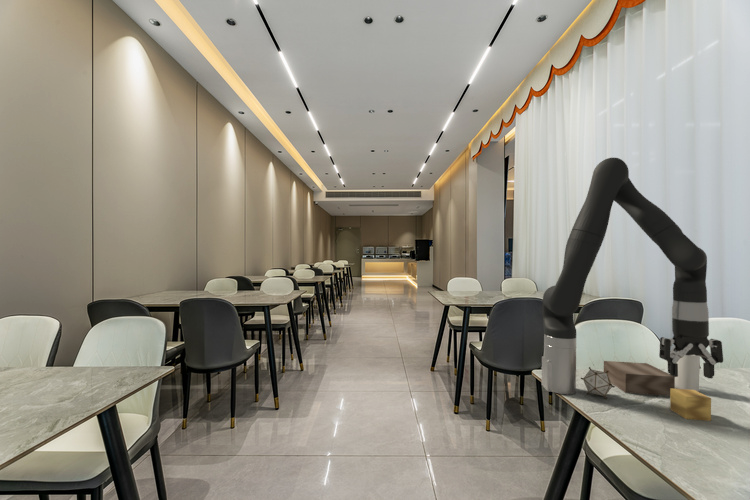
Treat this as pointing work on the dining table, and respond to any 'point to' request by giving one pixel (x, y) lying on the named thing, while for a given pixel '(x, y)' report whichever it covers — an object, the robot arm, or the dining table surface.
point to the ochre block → (690, 404)
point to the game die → (597, 382)
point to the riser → (639, 378)
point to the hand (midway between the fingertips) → (690, 376)
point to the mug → (688, 373)
